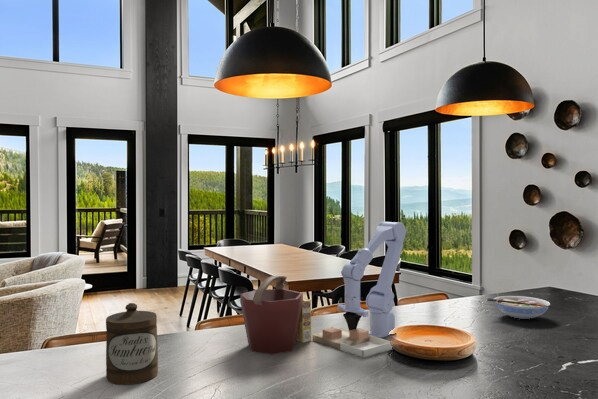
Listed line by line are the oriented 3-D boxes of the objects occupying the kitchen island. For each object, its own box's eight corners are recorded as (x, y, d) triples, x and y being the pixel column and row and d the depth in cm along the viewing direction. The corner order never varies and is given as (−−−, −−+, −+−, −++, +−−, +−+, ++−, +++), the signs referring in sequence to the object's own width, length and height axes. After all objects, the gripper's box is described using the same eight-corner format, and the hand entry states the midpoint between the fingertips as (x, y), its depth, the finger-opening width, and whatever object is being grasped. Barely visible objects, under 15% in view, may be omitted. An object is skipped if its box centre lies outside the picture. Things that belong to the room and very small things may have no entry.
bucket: (270, 333, 199) (270, 269, 198) (318, 343, 186) (318, 275, 186) (227, 349, 179) (226, 278, 178) (277, 362, 166) (276, 285, 166)
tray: (370, 341, 188) (370, 335, 188) (393, 349, 179) (393, 342, 179) (340, 349, 178) (340, 342, 178) (362, 357, 170) (362, 350, 170)
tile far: (332, 333, 191) (332, 327, 191) (341, 336, 187) (341, 330, 187) (322, 336, 188) (322, 329, 188) (331, 339, 184) (331, 332, 184)
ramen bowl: (555, 316, 225) (556, 297, 225) (549, 328, 206) (549, 307, 206) (496, 309, 239) (496, 291, 238) (485, 319, 219) (485, 300, 219)
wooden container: (107, 388, 144) (106, 311, 144) (105, 371, 158) (104, 300, 158) (161, 380, 150) (160, 306, 150) (154, 364, 164) (153, 296, 163)
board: (342, 332, 200) (342, 327, 200) (369, 341, 188) (369, 336, 188) (312, 339, 190) (312, 334, 190) (339, 349, 179) (339, 344, 179)
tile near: (359, 334, 190) (359, 328, 190) (368, 337, 186) (368, 331, 186) (349, 337, 187) (349, 330, 187) (359, 340, 183) (359, 333, 183)
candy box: (311, 341, 189) (311, 300, 188) (302, 343, 186) (302, 301, 186) (298, 335, 196) (298, 295, 196) (289, 337, 194) (289, 297, 194)
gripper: (331, 294, 192) (331, 330, 192) (358, 300, 181) (358, 338, 181) (345, 292, 197) (345, 327, 197) (372, 298, 185) (372, 335, 185)
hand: (352, 332), depth 189 cm, fingers closed
